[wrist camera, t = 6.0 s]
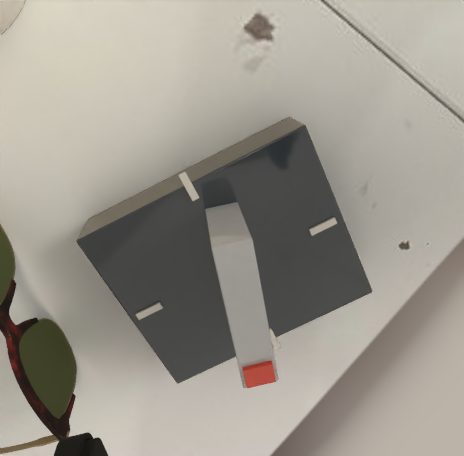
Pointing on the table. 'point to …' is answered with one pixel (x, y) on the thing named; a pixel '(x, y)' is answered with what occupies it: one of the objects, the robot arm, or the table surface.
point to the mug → (9, 12)
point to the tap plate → (201, 257)
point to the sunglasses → (37, 359)
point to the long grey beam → (242, 294)
